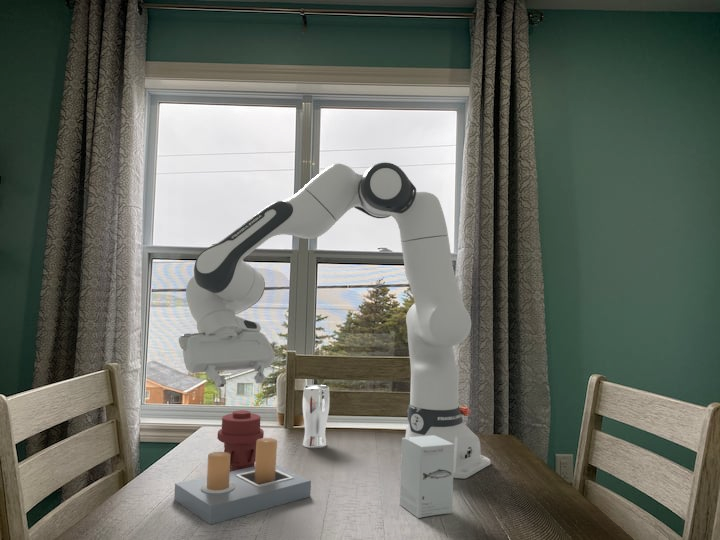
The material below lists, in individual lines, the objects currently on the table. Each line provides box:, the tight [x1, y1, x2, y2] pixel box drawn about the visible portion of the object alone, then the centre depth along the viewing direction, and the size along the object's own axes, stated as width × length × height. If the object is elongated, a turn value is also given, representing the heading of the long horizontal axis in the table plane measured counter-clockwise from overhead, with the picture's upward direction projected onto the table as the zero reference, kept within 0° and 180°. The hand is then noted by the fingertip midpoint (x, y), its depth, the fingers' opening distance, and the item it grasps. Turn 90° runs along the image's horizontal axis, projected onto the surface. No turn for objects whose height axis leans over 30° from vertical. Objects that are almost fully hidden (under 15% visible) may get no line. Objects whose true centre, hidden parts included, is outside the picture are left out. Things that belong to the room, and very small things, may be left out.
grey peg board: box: [173, 451, 312, 525], centre depth 104 cm, size 21×14×9 cm, turn 133°
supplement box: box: [399, 435, 454, 519], centre depth 102 cm, size 7×7×13 cm
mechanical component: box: [217, 409, 265, 471], centre depth 122 cm, size 12×10×10 cm
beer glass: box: [302, 384, 330, 449], centre depth 142 cm, size 7×7×15 cm
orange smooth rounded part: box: [254, 437, 278, 485], centre depth 107 cm, size 4×4×9 cm
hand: (242, 383), depth 115 cm, fingers open, 8 cm apart
